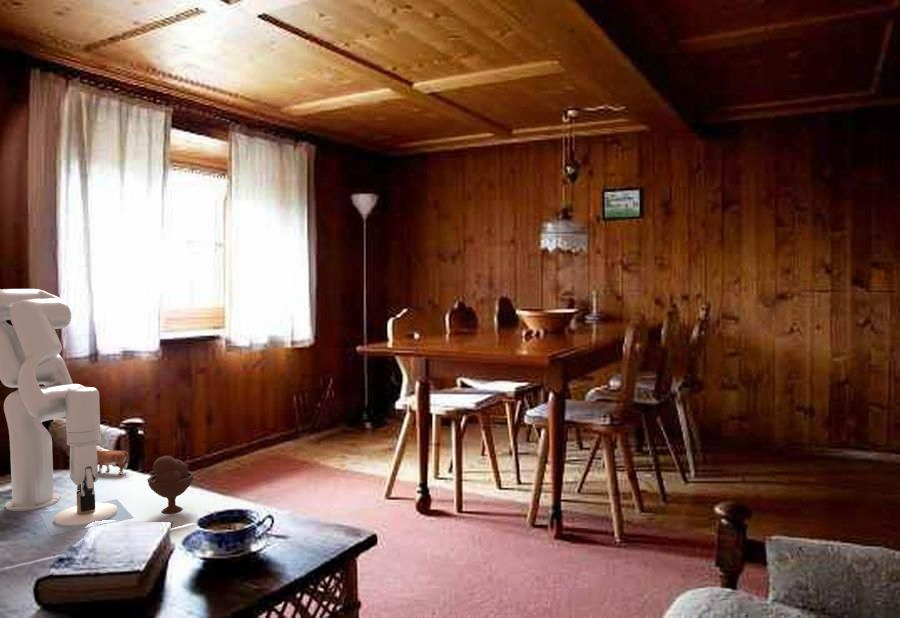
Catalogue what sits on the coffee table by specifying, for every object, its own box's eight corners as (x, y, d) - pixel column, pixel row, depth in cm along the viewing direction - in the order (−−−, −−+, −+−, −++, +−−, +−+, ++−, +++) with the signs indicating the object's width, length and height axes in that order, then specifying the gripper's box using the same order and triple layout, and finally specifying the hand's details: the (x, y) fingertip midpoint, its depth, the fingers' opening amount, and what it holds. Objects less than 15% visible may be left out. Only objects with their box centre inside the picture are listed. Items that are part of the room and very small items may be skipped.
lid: (50, 515, 167) (49, 491, 167) (110, 502, 176) (109, 480, 176) (59, 531, 156) (58, 506, 156) (123, 517, 165) (122, 493, 165)
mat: (40, 516, 167) (39, 514, 167) (116, 501, 179) (116, 499, 179) (51, 537, 153) (50, 535, 153) (133, 519, 165) (133, 517, 165)
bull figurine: (98, 469, 210) (97, 443, 209) (132, 472, 206) (131, 446, 205) (87, 472, 205) (86, 447, 205) (121, 476, 202) (120, 450, 201)
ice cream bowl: (178, 521, 163) (177, 462, 163) (139, 518, 166) (137, 459, 165) (203, 506, 174) (201, 451, 173) (165, 504, 176) (164, 449, 175)
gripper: (61, 433, 169) (63, 502, 170) (72, 445, 156) (75, 520, 157) (93, 428, 174) (95, 496, 175) (107, 440, 161) (109, 513, 162)
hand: (86, 507), depth 166 cm, fingers closed on lid, 4 cm apart
